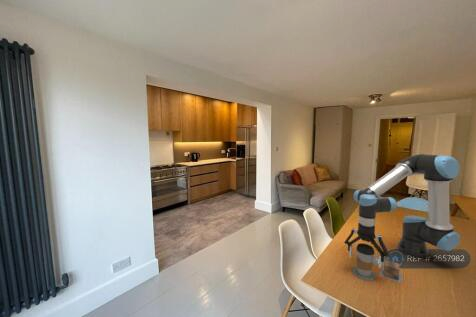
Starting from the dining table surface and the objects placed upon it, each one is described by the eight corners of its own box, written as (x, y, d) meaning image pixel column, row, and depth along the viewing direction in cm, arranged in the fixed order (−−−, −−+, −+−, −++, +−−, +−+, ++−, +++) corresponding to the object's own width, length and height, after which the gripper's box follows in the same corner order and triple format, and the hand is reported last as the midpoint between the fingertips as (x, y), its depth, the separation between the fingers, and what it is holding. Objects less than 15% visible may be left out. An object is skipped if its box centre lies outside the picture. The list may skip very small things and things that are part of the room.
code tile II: (402, 275, 110) (402, 274, 110) (400, 283, 103) (400, 283, 103) (382, 267, 116) (382, 267, 116) (379, 275, 109) (379, 275, 109)
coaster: (377, 273, 111) (377, 272, 111) (373, 284, 103) (373, 283, 103) (354, 265, 118) (355, 264, 118) (349, 274, 110) (349, 273, 110)
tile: (385, 260, 123) (385, 259, 123) (382, 267, 116) (382, 266, 116) (367, 254, 129) (367, 254, 129) (364, 260, 123) (364, 260, 123)
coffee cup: (351, 268, 114) (353, 243, 113) (365, 267, 115) (367, 242, 113) (361, 278, 106) (363, 251, 104) (376, 277, 107) (378, 250, 105)
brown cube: (397, 273, 110) (398, 263, 110) (398, 280, 105) (399, 269, 105) (383, 269, 113) (384, 259, 113) (384, 276, 109) (385, 265, 108)
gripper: (397, 228, 102) (394, 268, 104) (343, 216, 119) (342, 250, 121) (395, 233, 96) (392, 275, 99) (339, 219, 113) (338, 255, 116)
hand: (364, 261), depth 110 cm, fingers open, 13 cm apart
